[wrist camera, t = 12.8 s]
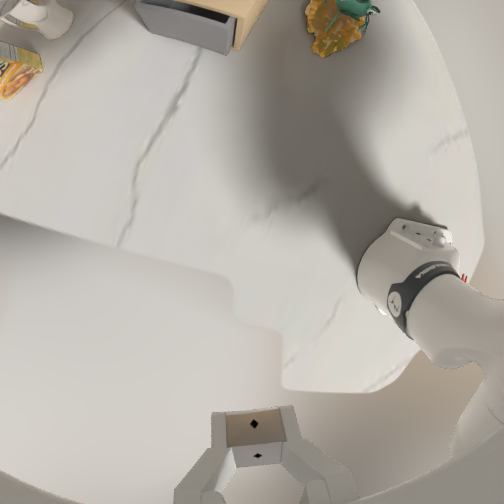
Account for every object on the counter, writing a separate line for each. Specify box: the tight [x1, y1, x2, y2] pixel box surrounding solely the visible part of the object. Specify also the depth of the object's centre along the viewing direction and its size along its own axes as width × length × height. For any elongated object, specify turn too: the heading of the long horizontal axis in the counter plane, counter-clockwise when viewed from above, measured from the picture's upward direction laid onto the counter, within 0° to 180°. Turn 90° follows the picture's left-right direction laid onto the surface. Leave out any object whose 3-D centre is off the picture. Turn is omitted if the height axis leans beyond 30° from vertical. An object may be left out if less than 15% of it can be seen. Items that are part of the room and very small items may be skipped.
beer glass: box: [0, 0, 73, 40], centre depth 19 cm, size 7×7×15 cm
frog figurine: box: [305, 0, 380, 58], centre depth 26 cm, size 10×18×15 cm, turn 158°
